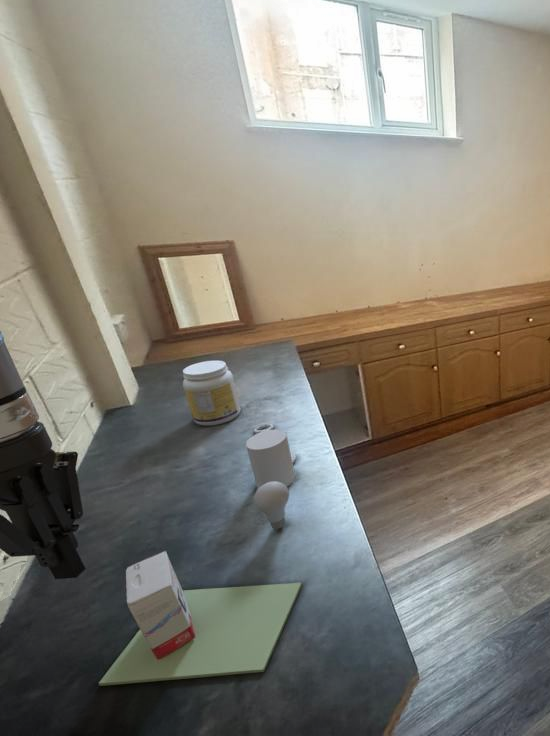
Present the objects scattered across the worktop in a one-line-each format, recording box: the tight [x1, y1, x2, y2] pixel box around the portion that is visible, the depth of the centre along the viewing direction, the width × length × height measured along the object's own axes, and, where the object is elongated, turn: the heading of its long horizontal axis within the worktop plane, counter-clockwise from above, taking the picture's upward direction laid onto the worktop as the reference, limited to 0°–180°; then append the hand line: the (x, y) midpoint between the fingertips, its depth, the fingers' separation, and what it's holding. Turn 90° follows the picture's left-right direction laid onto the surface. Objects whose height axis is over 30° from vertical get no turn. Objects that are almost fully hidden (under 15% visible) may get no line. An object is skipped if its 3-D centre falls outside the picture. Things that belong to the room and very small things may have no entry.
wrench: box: [253, 423, 297, 464], centre depth 109 cm, size 25×2×5 cm
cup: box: [245, 429, 296, 490], centre depth 94 cm, size 8×8×12 cm
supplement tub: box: [182, 360, 242, 427], centre depth 120 cm, size 12×12×17 cm
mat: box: [98, 582, 303, 687], centre depth 63 cm, size 22×14×1 cm, turn 95°
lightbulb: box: [253, 481, 290, 530], centre depth 81 cm, size 6×6×11 cm
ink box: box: [125, 550, 195, 659], centre depth 60 cm, size 9×5×12 cm, turn 44°
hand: (70, 573), depth 57 cm, fingers closed
